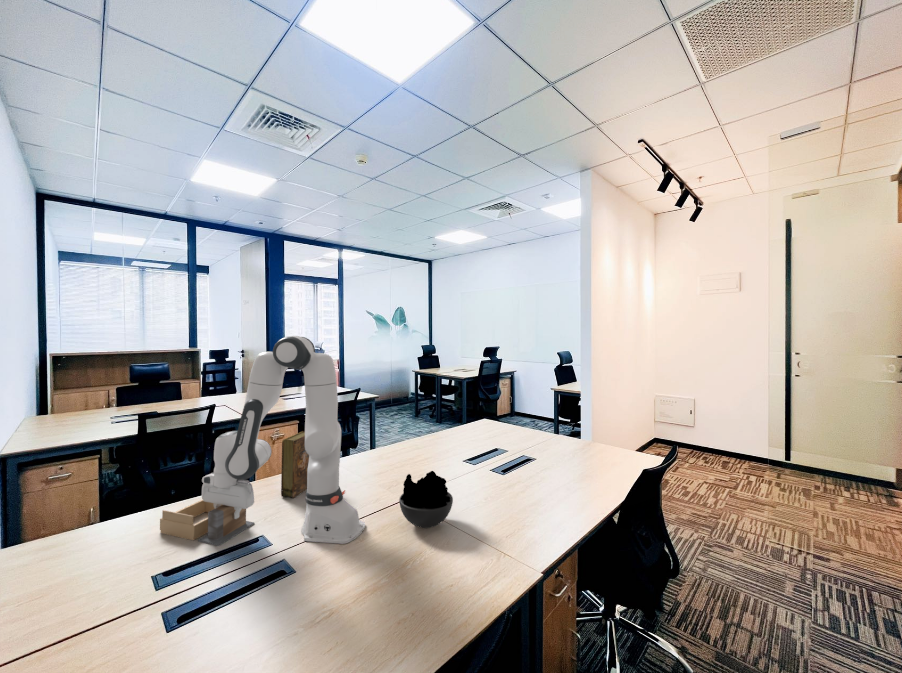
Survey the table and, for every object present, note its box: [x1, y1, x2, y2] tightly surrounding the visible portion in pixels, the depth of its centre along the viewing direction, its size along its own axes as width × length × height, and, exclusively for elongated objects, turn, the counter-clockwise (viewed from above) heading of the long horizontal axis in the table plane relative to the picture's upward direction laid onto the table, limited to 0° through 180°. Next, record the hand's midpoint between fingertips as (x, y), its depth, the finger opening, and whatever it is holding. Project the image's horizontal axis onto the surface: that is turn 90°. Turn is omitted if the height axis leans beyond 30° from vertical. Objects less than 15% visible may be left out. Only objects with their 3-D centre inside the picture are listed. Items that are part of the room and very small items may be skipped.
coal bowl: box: [398, 470, 454, 529], centre depth 139 cm, size 20×20×19 cm
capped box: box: [207, 505, 247, 540], centre depth 131 cm, size 4×12×9 cm, turn 163°
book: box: [280, 430, 309, 499], centre depth 167 cm, size 16×6×25 cm, turn 168°
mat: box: [197, 520, 255, 547], centre depth 131 cm, size 9×15×1 cm, turn 164°
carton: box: [159, 498, 222, 541], centre depth 136 cm, size 16×17×8 cm
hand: (227, 516), depth 131 cm, fingers open, 6 cm apart
